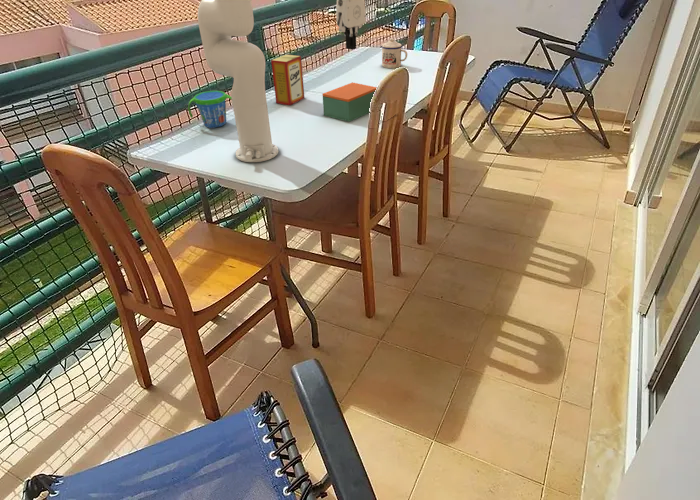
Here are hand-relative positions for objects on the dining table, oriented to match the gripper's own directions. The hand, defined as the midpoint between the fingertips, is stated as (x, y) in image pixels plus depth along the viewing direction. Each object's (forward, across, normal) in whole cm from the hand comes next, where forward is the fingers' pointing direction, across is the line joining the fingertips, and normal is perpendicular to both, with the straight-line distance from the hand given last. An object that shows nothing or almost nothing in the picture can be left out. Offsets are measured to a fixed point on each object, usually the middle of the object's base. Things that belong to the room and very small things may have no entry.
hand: (351, 48), depth 165 cm
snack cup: (+22, -38, +30) cm, 53 cm away
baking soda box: (+21, -4, +27) cm, 35 cm away
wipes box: (+21, -2, -1) cm, 21 cm away
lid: (+14, -1, -1) cm, 14 cm away
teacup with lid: (+20, +58, +23) cm, 66 cm away
